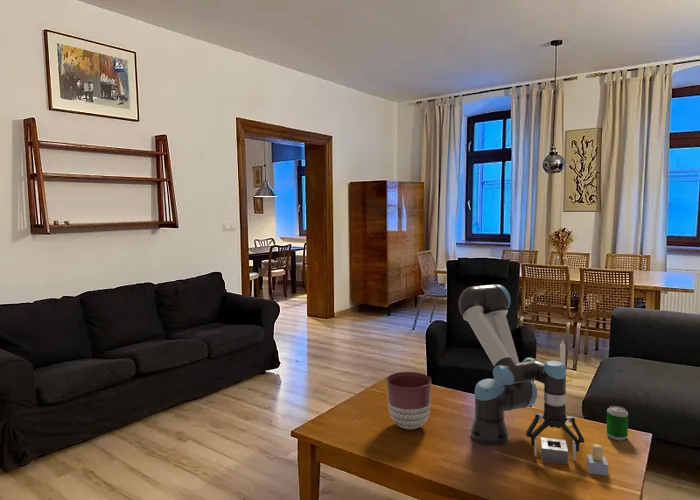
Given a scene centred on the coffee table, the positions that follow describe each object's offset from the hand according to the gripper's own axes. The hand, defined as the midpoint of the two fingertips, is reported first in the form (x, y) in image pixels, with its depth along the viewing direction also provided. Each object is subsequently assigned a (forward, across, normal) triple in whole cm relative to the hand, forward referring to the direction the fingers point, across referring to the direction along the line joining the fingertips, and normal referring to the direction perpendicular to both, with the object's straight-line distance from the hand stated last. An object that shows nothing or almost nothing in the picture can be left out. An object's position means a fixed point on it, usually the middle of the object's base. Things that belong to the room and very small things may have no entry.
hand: (554, 456), depth 184 cm
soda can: (0, +26, +23) cm, 35 cm away
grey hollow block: (0, 0, 0) cm, 0 cm away
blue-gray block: (0, +14, -6) cm, 15 cm away
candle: (0, +6, +32) cm, 33 cm away
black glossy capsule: (0, 0, 0) cm, 0 cm away
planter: (0, -58, +11) cm, 59 cm away
